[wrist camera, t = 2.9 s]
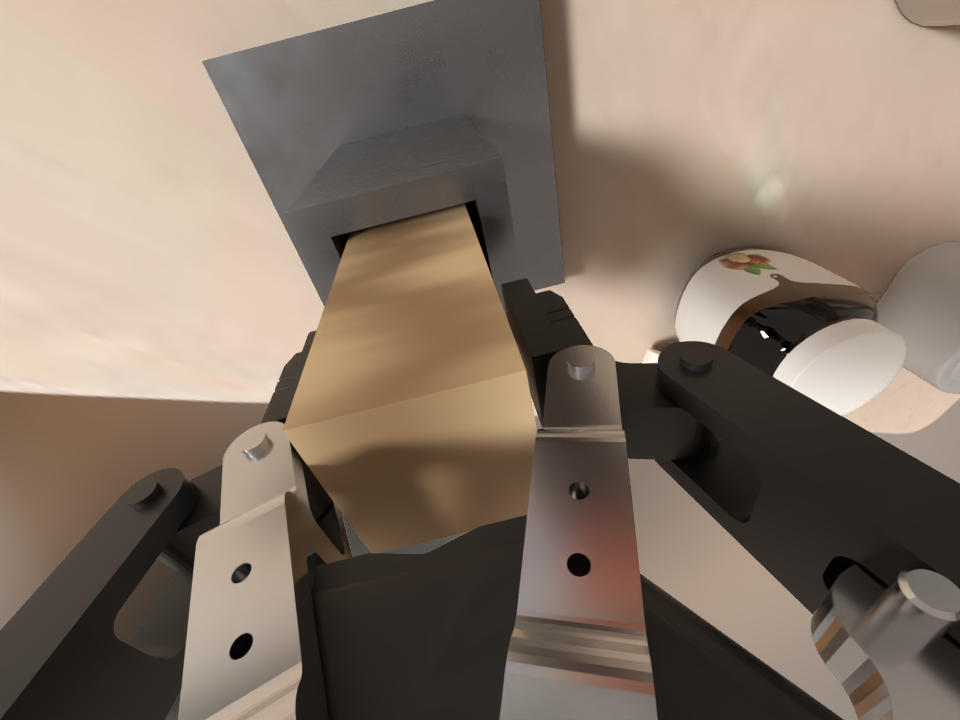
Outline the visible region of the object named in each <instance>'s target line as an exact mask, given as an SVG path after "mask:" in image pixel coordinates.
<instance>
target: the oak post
mask: <svg viewBox="0 0 960 720" xmlns="http://www.w3.org/2000/svg"><path fill="white" fill-rule="evenodd" d="M283 432H284V434H285V435H286V436H287V438H288V439H289V441H290V442H291V443H292V445H293V446H294V448H295V449H296V450H297V452H298V453H299V454H300V456H301V457H302V459H303V460H304V461H305V463H306V464H307V466H308V467H309V468H310V470H311V471H312V472H313V474H314V475H315V477H316V478H317V479H318V481H319V482H320V484H321V485H322V486H323V488H324V489H325V490H326V492H327V493H328V495H329V496H330V497H331V499H332V500H333V502H334V503H335V504H336V506H337V507H338V508H339V510H340V511H341V513H342V514H343V515H344V517H345V518H346V519H347V521H348V522H349V524H350V525H351V526H352V528H353V529H354V531H355V532H356V533H357V535H358V536H359V537H360V539H361V540H362V542H363V543H364V544H365V546H366V547H367V549H368V550H369V551H370V553H381V552H386V551H389V550H394V549H398V548H402V547H406V546H410V545H414V544H418V543H422V542H427V541H430V540H434V539H438V538H443V537H447V536H451V535H455V534H459V533H464V532H467V531H472V530H474V529H476V528H478V527H480V526H483V525H487V524H492V523H496V522H500V521H504V520H508V519H512V518H516V517H520V516H524V515H527V513H528V503H529V494H530V485H531V475H532V466H533V456H534V447H535V438H536V433H537V429H536V423H535V417H534V412H533V406H532V400H531V395H530V389H529V383H528V378H527V372H526V368H525V366H524V363H523V360H522V358H521V355H520V352H519V350H518V347H517V344H516V341H515V339H514V336H513V333H512V331H511V328H510V325H509V323H508V320H507V317H506V314H505V312H504V309H503V306H502V304H501V301H500V298H499V296H498V293H497V290H496V287H495V285H494V282H493V279H492V277H491V274H490V271H489V269H488V266H487V263H486V260H485V258H484V255H483V252H482V250H481V247H480V244H479V241H478V239H477V236H476V233H475V231H474V228H473V225H472V223H471V220H470V217H469V214H468V212H467V209H466V206H465V204H464V203H462V204H458V205H454V206H450V207H447V208H443V209H439V210H435V211H431V212H427V213H423V214H419V215H415V216H411V217H407V218H403V219H399V220H395V221H392V222H388V223H384V224H380V225H376V226H372V227H368V228H364V229H360V230H356V231H352V232H350V235H349V237H348V240H347V243H346V246H345V249H344V252H343V255H342V258H341V261H340V264H339V267H338V270H337V273H336V276H335V278H334V281H333V284H332V287H331V290H330V293H329V296H328V299H327V302H326V305H325V308H324V311H323V314H322V316H321V319H320V322H319V325H318V328H317V331H316V334H315V337H314V340H313V343H312V346H311V349H310V352H309V355H308V357H307V360H306V363H305V366H304V369H303V372H302V375H301V378H300V381H299V384H298V387H297V390H296V393H295V395H294V398H293V401H292V404H291V407H290V410H289V413H288V416H287V419H286V422H285V425H284V428H283Z"/></svg>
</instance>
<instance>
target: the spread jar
mask: <svg viewBox="0 0 960 720" xmlns="http://www.w3.org/2000/svg"><path fill="white" fill-rule="evenodd" d="M878 321H879V314H878V307H877V304H876V302H875V300H874V298H873V297H872V296H871V295H870V294H869V293H868V292H866V291H865V290H863V289H862V288H860V287H859V286H857V285H855V284H854V283H852V282H850V281H848V280H846V279H844V278H843V277H841V276H839V275H837V274H835V273H833V272H831V271H829V270H827V269H825V268H823V267H821V266H819V265H817V264H815V263H813V262H810V261H808V260H806V259H803V258H800V257H797V256H794V255H791V254H787V253H783V252H778V251H772V250H767V249H759V248H738V249H732V250H728V251H725V252H722V253H719V254H717V255H715V256H713V257H711V258H709V259H708V260H706V261H705V262H703V263H702V264H701V265H700V266H698V267H697V268H696V269H695V271H694V272H693V273H692V274H691V276H690V277H689V279H688V280H687V282H686V284H685V286H684V288H683V290H682V292H681V294H680V297H679V300H678V304H677V308H676V315H675V330H676V334H677V337H678V339H679V342H684V341H701V342H707V343H711V344H714V345H717V346H719V347H721V348H723V349H725V350H727V351H729V352H731V353H732V354H734V355H736V356H737V357H739V358H741V359H743V360H744V361H746V362H748V363H750V364H751V365H753V366H755V367H757V368H758V369H760V370H762V371H764V372H765V373H767V374H769V375H771V376H772V377H774V378H776V379H778V380H779V381H781V382H783V383H785V384H786V385H788V386H790V387H792V388H793V389H795V390H797V391H799V392H800V393H802V394H804V395H806V396H807V397H809V398H811V399H813V400H814V401H816V402H818V403H820V404H821V405H823V406H825V407H827V408H828V409H830V410H832V411H834V412H835V413H837V414H839V415H841V416H843V415H845V414H847V413H850V412H852V411H854V410H855V409H857V408H859V407H861V406H862V405H864V404H865V403H867V402H868V401H870V400H871V399H873V398H874V397H875V396H876V395H878V394H879V393H880V392H881V391H882V390H883V389H884V388H885V387H886V386H887V385H888V384H889V383H890V382H891V381H892V380H893V379H894V377H895V376H896V375H897V374H898V372H899V370H900V369H901V367H902V365H903V362H904V360H905V357H906V345H905V341H904V340H903V339H902V337H901V336H899V335H898V334H896V333H894V332H892V331H891V330H889V329H887V328H885V327H884V326H882V325H880V324H878ZM660 353H661V351H657V350H654V349H647V352H646V354H645V356H644V358H643V361H642V363H658V357H659V354H660Z"/></svg>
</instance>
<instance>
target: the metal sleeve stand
mask: <svg viewBox="0 0 960 720" xmlns="http://www.w3.org/2000/svg"><path fill="white" fill-rule="evenodd" d="M202 62H203V64H204V66H205V68H206V70H207V72H208V74H209V76H210V78H211V80H212V82H213V84H214V86H215V88H216V90H217V92H218V94H219V96H220V98H221V100H222V102H223V104H224V106H225V108H226V110H227V112H228V114H229V116H230V118H231V120H232V122H233V124H234V126H235V128H236V130H237V132H238V134H239V136H240V138H241V140H242V142H243V144H244V146H245V148H246V150H247V152H248V154H249V156H250V158H251V160H252V162H253V164H254V166H255V168H256V170H257V172H258V174H259V176H260V178H261V180H262V182H263V184H264V186H265V188H266V190H267V192H268V194H269V196H270V198H271V200H272V202H273V204H274V206H275V208H276V210H277V212H278V214H279V216H280V218H281V220H282V222H283V224H284V226H285V228H286V230H287V232H288V234H289V236H290V238H291V240H292V242H293V244H294V246H295V248H296V250H297V252H298V254H299V256H300V258H301V260H302V262H303V264H304V266H305V268H306V270H307V272H308V274H309V276H310V278H311V280H312V282H313V284H314V286H315V288H316V290H317V292H318V294H319V296H320V298H321V300H322V302H323V304H324V306H325V305H326V302H327V299H328V296H329V293H330V290H331V287H332V284H333V281H334V278H335V276H336V273H337V270H338V267H339V264H340V261H341V258H342V255H343V252H344V249H345V246H346V243H347V240H348V237H349V235H350V232H352V231H356V230H360V229H364V228H368V227H372V226H376V225H380V224H384V223H388V222H392V221H395V220H399V219H403V218H407V217H411V216H415V215H419V214H423V213H427V212H431V211H435V210H439V209H443V208H447V207H450V206H454V205H458V204H462V203H464V204H465V206H466V209H467V212H468V214H469V217H470V220H471V223H472V225H473V228H474V231H475V233H476V236H477V239H478V241H479V244H480V247H481V250H482V252H483V255H484V258H485V260H486V263H487V266H488V269H489V271H490V274H491V277H492V279H493V282H494V285H495V287H496V290H497V293H498V296H499V298H500V301H501V304H502V306H503V309H504V312H505V314H506V309H505V303H504V298H503V293H502V286H501V284H504V283H508V282H512V281H516V280H520V279H524V278H527V279H528V280H529V282H530V284H531V286H532V288H533V290H538V289H542V288H545V287H549V286H553V285H557V284H561V283H565V279H564V268H563V256H562V245H561V234H560V223H559V212H558V200H557V189H556V178H555V167H554V156H553V144H552V133H551V122H550V111H549V100H548V89H547V77H546V66H545V55H544V44H543V33H542V21H541V10H540V0H434V1H431V2H427V3H423V4H419V5H415V6H411V7H408V8H404V9H400V10H396V11H392V12H388V13H385V14H381V15H377V16H373V17H369V18H366V19H362V20H358V21H354V22H350V23H346V24H343V25H339V26H335V27H331V28H327V29H324V30H320V31H316V32H312V33H308V34H304V35H301V36H297V37H293V38H289V39H285V40H282V41H278V42H274V43H270V44H266V45H262V46H259V47H255V48H251V49H247V50H243V51H240V52H236V53H232V54H228V55H224V56H220V57H217V58H213V59H209V60H205V61H202ZM506 317H507V314H506ZM507 320H508V319H507Z"/></svg>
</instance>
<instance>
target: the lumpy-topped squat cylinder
mask: <svg viewBox="0 0 960 720" xmlns="http://www.w3.org/2000/svg"><path fill="white" fill-rule="evenodd" d="M877 307H878V314H879V321H878V324H880V325H882V326H884V327H885V328H887V329H889V330H891V331H892V332H894V333H896V334H898V335H899V336H901V337H902V339H903V340H904V341H905V345H906V357H905V360H904V362H903V365H902V367H904V368H905V369H907V370H908V371H910V372H912V373H913V374H915V375H916V376H918V377H920V378H921V379H923V380H924V381H926V382H928V383H929V384H931V385H932V386H934V387H935V388H937V389H939V390H941V391H943V392H947V393H956V394H960V241H951V242H944V243H940V244H937V245H934V246H932V247H929V248H927V249H925V250H923V251H922V252H920V253H918V254H917V255H915V256H914V257H912V258H911V259H910V260H909V261H908V262H906V263H905V264H904V265H903V267H902V268H901V269H900V270H899V271H898V273H897V274H896V276H895V277H894V279H893V281H892V282H891V284H890V286H889V287H888V289H887V291H886V292H885V294H884V295H883V296H882V298H881V299H880V300H879V301H878V303H877Z"/></svg>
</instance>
